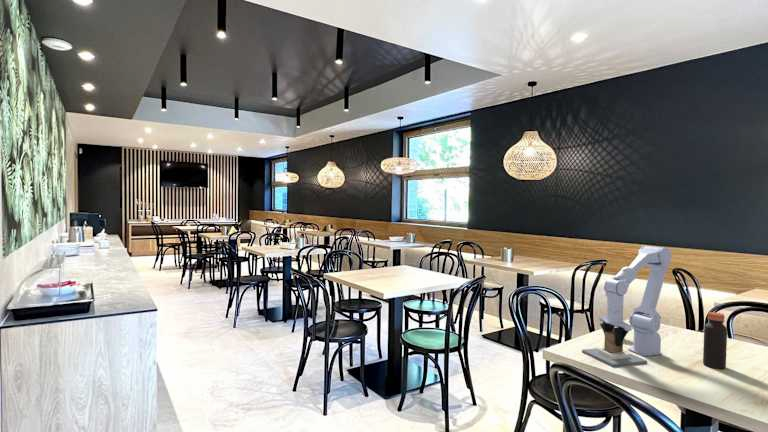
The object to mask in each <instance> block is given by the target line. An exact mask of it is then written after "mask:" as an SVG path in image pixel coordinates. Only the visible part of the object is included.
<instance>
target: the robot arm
mask: <svg viewBox="0 0 768 432" xmlns="http://www.w3.org/2000/svg"><path fill="white" fill-rule="evenodd" d="M637 251H638V253H637V254H638V255H637V256H636V258H635V259H634V260H633V261H632V262H631V264H630V265H629V266H625V267H622V268H621V270H620V271H619V272H617V273H616V275H614V276H613V277H612V278H609V279H607V280H606V281H604V285H603V290H604V292H605V297H606V316H604V315H598V321H599V322H602V323H599V325H600V327H601V329H602V332H603V335H604V336H605V332H606V331H613V329H614V332H615V337H616V346H622V343H623V344H624V340H625V337H626V336H627V334H628V333H629V332H632V330H633V346H632V347H630V348H628V350H629V351H631V352H633V353H635V354H638V355H640V356H643V357H647V356H648V357H650V356H659V355H663V352H662V351H661V348H662V347H661V346H662V339H661V338H662V337H661V335H660V332H658V331H659V330H660V328H661V318H662V317H661V315H660V313H659V312H658V311H657V310H656V309H657V306H658V302H659V298H660V295H661V292H662V287H663V286H664V285H663V284H664V280H665V277H666V273H667V270H668V269H669V267H670V264H671V259H672V256H673V255H672V252H671V251H670V249H669V248H668V247H660V246H653V245H652V246H651V245H650V246H649V245H642V246H641V247H640V248H639V250H637ZM645 266H646V267H648V268H649V270H650V272H649V275H648V279H647V282H646V286H645V288H644V292H643V294H642V295H643V296H642V299H641V302H640V303H641V304H640V305H639V306H637V307H635V308H633V311H632V312H631V314H630V316H629V319H628V320H629V321H628V322H629V324H628V323H627V322H625V321H624V296H625V294H627V293H628V291H629V287H630V284H631V283H632V282H633V281H634V280H635V279H636V278H637V277H638V275H637V273H638V272H639V271H641V270H642V269H643V268H644V267H645ZM614 326H617V327H618V328H614Z"/></svg>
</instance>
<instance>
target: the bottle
mask: <svg viewBox="0 0 768 432" xmlns="http://www.w3.org/2000/svg"><path fill="white" fill-rule="evenodd" d="M707 320H708V322H707V323H705V324H704V326H703V327H704V328H703V352H702V355H703V356H702V364H703V365H704V366H705V367H708V368H710V369H716V370H725V369H726V368H727V345H728V343H727V342H728V328H727V327H726V326H725V325H724V323H725V314H724V313H721V312H714V311H708V312H707Z"/></svg>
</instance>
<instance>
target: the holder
mask: <svg viewBox="0 0 768 432" xmlns="http://www.w3.org/2000/svg"><path fill="white" fill-rule="evenodd" d="M581 353H583V354H585V355H587V356H589V357H591V358H593V359H594V360H595V359H596V360H598V361H599V362H602V363H603V364H606V365H608V366H610V367H612V368H616V367H624V366H625V367H627V366H635V365H636V366H637V365H642V364H643V365H644V364H648V360H647V359H644V358H642V357H639V356H637V355H634V354H633V353H630V352H628V351H626V350H623V352H616V353H613V352H610V351H608V350H606V349H604V347H598V348H597V347H596V348H585V349H582V350H581Z"/></svg>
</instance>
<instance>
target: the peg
mask: <svg viewBox="0 0 768 432" xmlns="http://www.w3.org/2000/svg"><path fill="white" fill-rule="evenodd" d="M603 346H604V347H603V348H604V349H606V350H608V351H610V352H613V353H616V352H623V351H624V350H623V348H624V342H623V343H622V346H616V337H615V332H614V331H606V332H605V335H604V345H603Z"/></svg>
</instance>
